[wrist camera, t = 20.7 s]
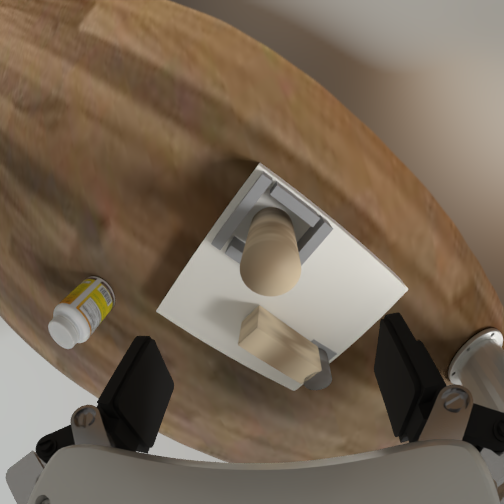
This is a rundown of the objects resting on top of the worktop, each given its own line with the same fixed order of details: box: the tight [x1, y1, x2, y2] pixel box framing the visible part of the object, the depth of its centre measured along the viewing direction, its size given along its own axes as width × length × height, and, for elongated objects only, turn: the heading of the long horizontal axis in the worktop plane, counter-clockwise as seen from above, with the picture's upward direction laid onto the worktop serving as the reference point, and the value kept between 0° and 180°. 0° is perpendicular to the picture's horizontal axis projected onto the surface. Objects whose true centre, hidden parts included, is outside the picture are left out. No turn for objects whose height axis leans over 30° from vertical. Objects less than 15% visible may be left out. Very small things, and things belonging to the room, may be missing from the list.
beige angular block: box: [238, 305, 332, 390], centre depth 30 cm, size 12×3×4 cm, turn 51°
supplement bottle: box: [48, 276, 115, 349], centre depth 30 cm, size 6×6×10 cm
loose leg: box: [240, 207, 301, 296], centre depth 23 cm, size 4×4×9 cm
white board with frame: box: [156, 163, 408, 391], centre depth 30 cm, size 21×20×6 cm
